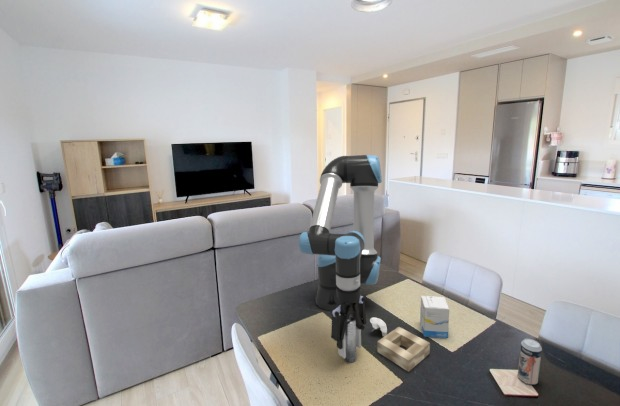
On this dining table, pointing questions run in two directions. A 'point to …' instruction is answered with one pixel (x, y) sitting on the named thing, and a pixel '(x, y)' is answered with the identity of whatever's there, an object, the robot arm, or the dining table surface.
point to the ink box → (434, 316)
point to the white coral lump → (379, 325)
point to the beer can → (529, 361)
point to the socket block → (398, 355)
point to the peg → (350, 340)
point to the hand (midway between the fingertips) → (349, 350)
